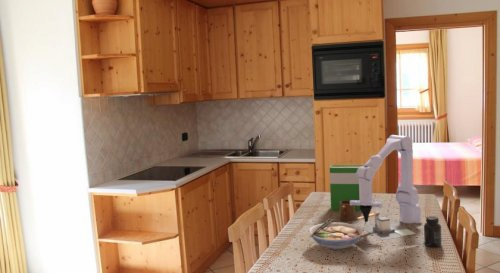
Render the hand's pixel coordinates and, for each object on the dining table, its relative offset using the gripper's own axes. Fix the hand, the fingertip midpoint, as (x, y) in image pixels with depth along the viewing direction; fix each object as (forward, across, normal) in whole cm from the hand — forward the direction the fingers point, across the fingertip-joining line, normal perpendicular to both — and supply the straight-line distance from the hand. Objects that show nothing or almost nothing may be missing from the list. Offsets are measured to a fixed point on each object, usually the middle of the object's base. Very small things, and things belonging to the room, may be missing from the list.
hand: (366, 221), depth 208 cm
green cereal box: (+6, -19, +38) cm, 43 cm away
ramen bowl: (+6, -8, -20) cm, 23 cm away
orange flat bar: (-1, 0, +4) cm, 4 cm away
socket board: (+6, +9, +5) cm, 12 cm away
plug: (+5, +7, +5) cm, 10 cm away
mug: (+6, -14, +16) cm, 22 cm away
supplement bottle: (+6, +29, -5) cm, 30 cm away
